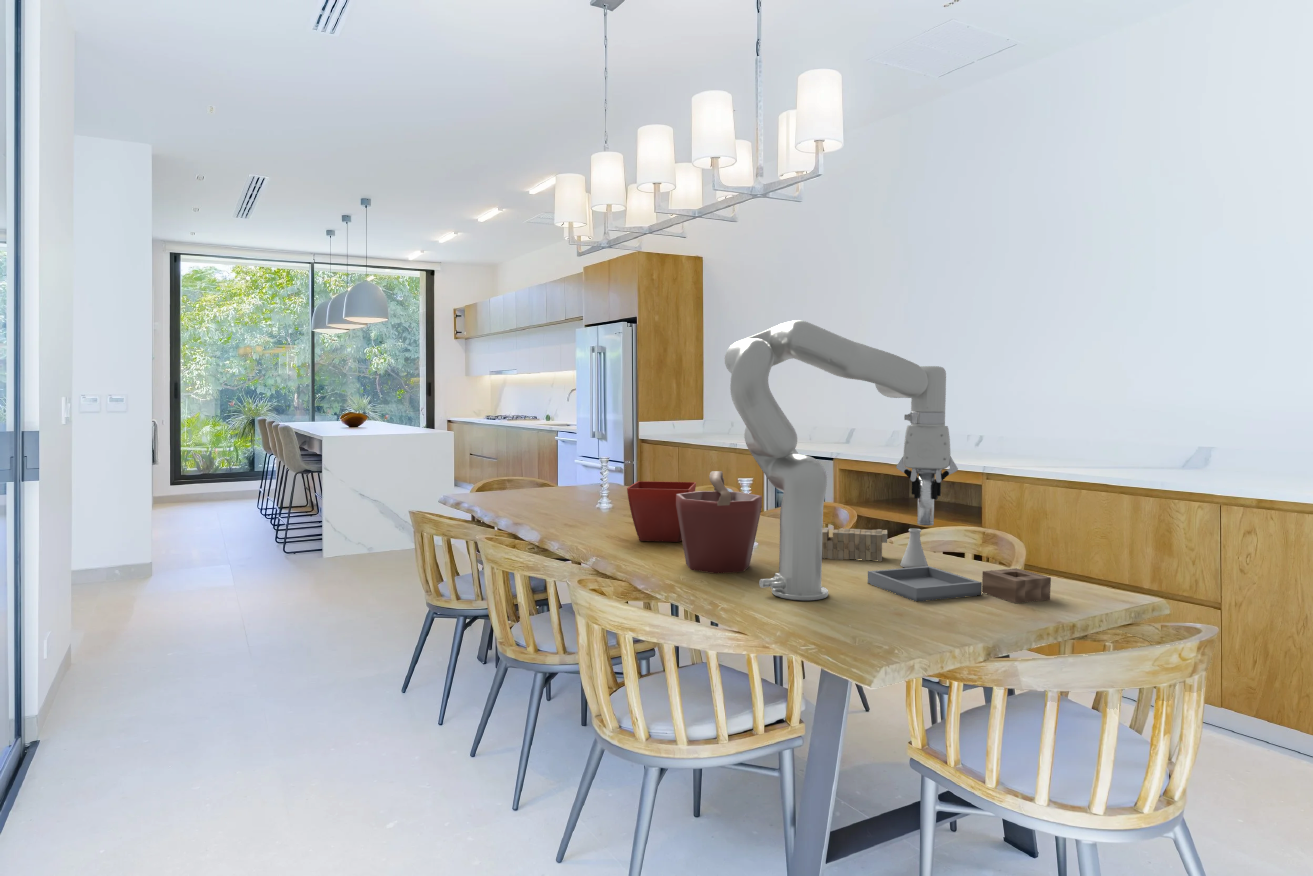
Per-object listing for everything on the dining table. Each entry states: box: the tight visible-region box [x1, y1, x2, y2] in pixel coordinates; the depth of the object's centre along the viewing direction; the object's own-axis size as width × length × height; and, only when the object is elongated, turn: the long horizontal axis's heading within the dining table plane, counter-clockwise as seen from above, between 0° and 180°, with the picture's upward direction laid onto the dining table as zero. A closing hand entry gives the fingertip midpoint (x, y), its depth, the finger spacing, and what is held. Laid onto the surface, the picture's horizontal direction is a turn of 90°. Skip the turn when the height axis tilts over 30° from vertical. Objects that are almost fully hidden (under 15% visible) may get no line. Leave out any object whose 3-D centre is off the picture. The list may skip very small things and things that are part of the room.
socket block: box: [981, 567, 1052, 604], centre depth 183 cm, size 10×10×5 cm
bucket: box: [676, 470, 763, 575], centre depth 211 cm, size 24×22×25 cm
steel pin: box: [916, 469, 936, 526], centre depth 188 cm, size 5×5×13 cm
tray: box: [867, 565, 982, 602], centre depth 189 cm, size 18×18×3 cm
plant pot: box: [626, 480, 697, 543], centre depth 251 cm, size 19×19×17 cm
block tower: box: [822, 527, 888, 562], centre depth 226 cm, size 8×8×29 cm
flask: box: [899, 528, 929, 568], centre depth 213 cm, size 7×7×10 cm
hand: (926, 497), depth 187 cm, fingers closed on steel pin, 3 cm apart
